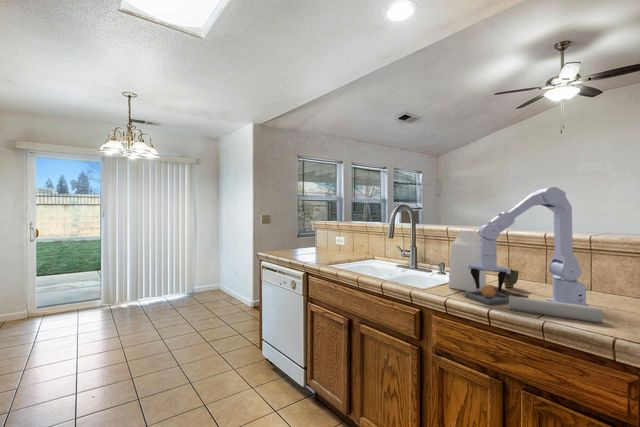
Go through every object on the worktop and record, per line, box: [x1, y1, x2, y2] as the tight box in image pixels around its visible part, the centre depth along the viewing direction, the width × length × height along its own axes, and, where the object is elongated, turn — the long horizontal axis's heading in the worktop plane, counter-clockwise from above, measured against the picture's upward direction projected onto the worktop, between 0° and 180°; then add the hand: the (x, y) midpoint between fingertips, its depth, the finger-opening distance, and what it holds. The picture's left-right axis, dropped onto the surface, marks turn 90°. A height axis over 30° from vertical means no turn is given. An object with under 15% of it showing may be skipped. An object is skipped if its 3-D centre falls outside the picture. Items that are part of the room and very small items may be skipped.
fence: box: [489, 284, 529, 298], centre depth 125 cm, size 18×1×3 cm, turn 17°
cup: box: [503, 268, 520, 289], centre depth 141 cm, size 8×7×8 cm
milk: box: [448, 229, 487, 292], centre depth 141 cm, size 12×12×26 cm
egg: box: [480, 284, 496, 298], centre depth 122 cm, size 5×5×5 cm
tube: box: [508, 295, 604, 323], centre depth 103 cm, size 5×5×25 cm
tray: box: [464, 290, 509, 306], centre depth 122 cm, size 12×12×2 cm
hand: (488, 289), depth 122 cm, fingers open, 7 cm apart
